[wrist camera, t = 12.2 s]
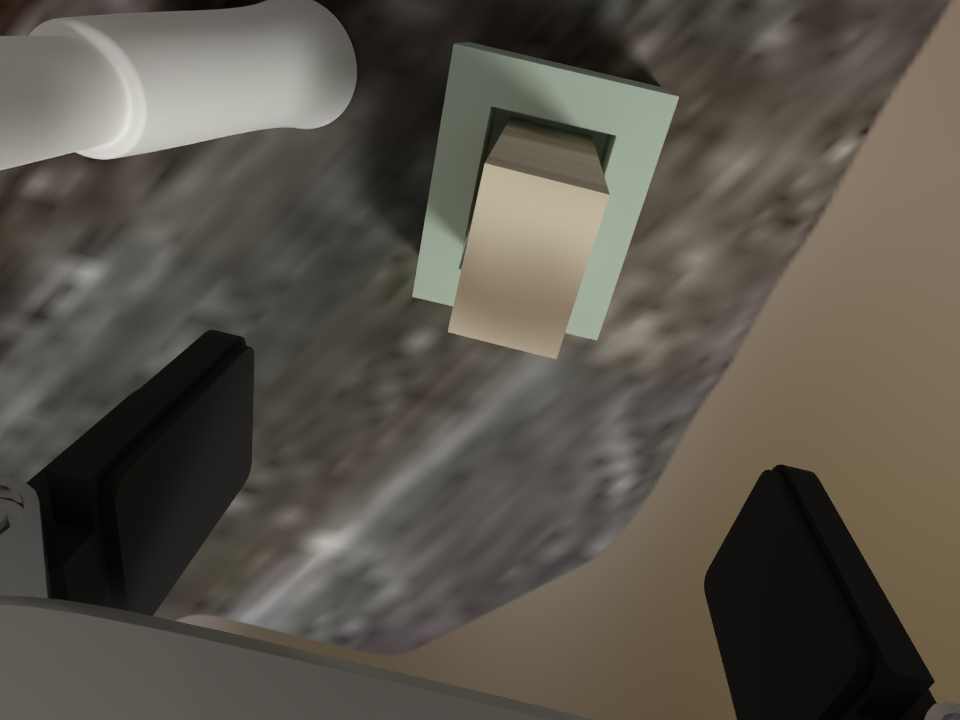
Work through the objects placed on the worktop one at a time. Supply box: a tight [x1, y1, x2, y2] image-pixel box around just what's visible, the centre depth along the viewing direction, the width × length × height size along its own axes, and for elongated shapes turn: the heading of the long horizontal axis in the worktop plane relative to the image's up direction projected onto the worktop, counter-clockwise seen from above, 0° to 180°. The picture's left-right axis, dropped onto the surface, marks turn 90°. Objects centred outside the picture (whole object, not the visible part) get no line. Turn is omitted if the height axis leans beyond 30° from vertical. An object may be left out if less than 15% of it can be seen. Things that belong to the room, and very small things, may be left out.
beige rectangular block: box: [448, 116, 610, 359], centre depth 26 cm, size 6×4×12 cm, turn 168°
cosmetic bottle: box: [0, 0, 357, 170], centre depth 21 cm, size 6×6×22 cm
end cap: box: [412, 42, 679, 340], centre depth 30 cm, size 12×10×5 cm
